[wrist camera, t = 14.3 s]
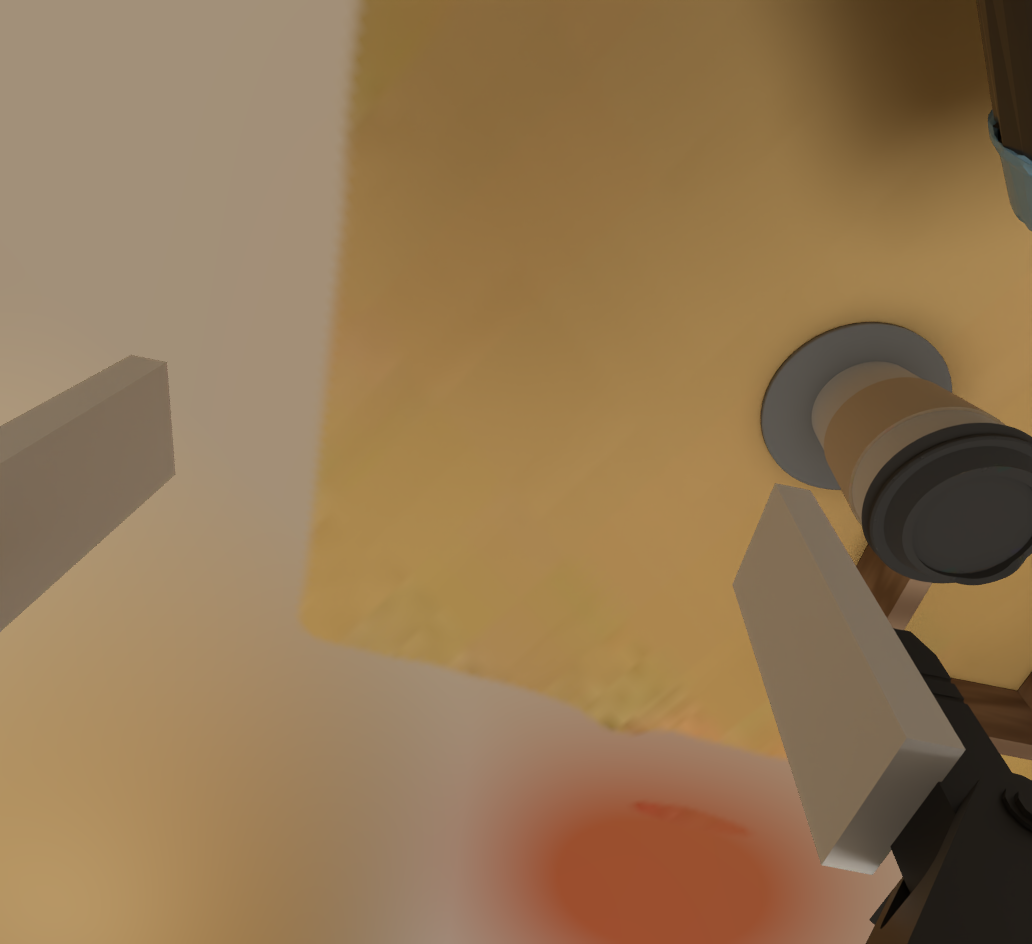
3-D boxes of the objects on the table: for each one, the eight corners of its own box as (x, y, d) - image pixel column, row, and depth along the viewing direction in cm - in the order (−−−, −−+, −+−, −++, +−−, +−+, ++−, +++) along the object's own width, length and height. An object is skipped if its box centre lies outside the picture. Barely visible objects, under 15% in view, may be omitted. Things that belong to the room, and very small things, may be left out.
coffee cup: (778, 377, 45) (860, 487, 32) (923, 321, 42) (1077, 415, 29) (814, 486, 48) (902, 627, 35) (950, 440, 46) (1098, 573, 33)
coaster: (799, 305, 43) (801, 307, 43) (982, 342, 43) (987, 345, 43) (736, 467, 49) (738, 471, 48) (898, 500, 49) (902, 504, 49)
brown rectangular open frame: (923, 437, 47) (967, 479, 41) (1191, 491, 47) (1269, 539, 42) (805, 663, 57) (828, 720, 52) (1025, 707, 57) (1070, 767, 52)
